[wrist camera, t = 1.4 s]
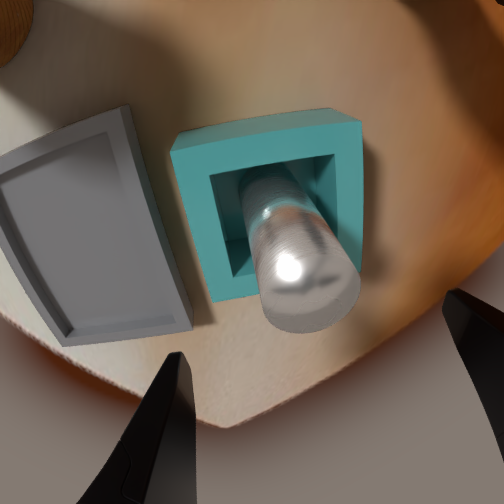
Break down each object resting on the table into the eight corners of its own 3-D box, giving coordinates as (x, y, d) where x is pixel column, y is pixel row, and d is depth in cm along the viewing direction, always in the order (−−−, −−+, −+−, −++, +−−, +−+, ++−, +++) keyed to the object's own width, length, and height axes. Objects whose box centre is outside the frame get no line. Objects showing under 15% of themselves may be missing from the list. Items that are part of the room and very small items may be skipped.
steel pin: (293, 157, 18) (363, 245, 10) (299, 210, 20) (357, 321, 12) (233, 167, 18) (254, 267, 10) (243, 221, 20) (268, 341, 12)
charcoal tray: (128, 103, 16) (119, 108, 14) (193, 311, 25) (193, 330, 23) (-16, 164, 16) (-31, 174, 14) (68, 330, 24) (62, 346, 23)
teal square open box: (329, 107, 17) (361, 121, 14) (336, 234, 22) (361, 272, 19) (179, 132, 17) (169, 151, 13) (211, 259, 22) (212, 302, 18)
